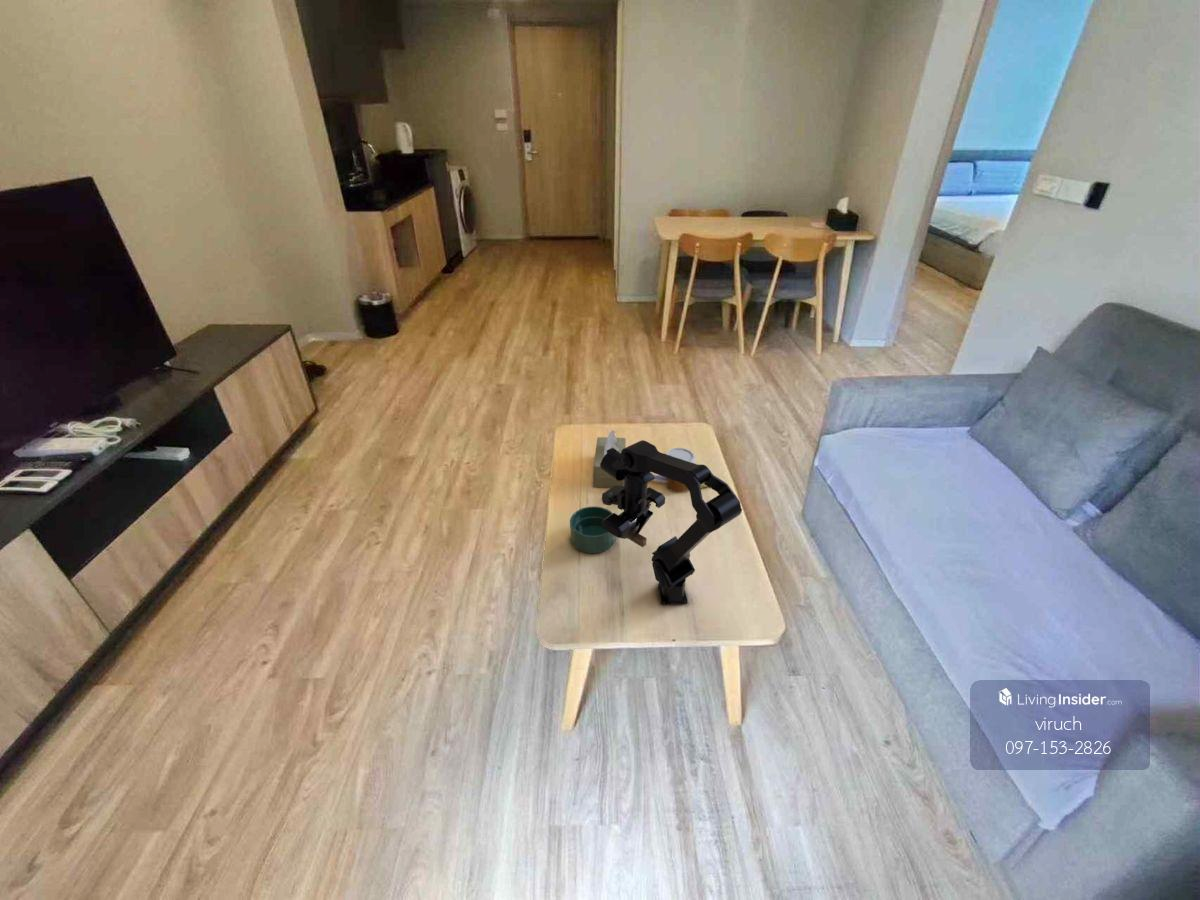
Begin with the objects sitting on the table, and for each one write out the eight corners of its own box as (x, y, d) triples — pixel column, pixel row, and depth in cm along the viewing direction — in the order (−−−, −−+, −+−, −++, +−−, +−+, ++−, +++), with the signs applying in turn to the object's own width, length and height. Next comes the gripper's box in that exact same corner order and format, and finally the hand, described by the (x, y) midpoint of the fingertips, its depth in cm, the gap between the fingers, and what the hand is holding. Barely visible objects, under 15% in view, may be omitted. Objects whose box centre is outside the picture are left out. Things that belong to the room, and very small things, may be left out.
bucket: (618, 553, 147) (618, 535, 144) (570, 555, 147) (570, 537, 143) (614, 522, 158) (614, 505, 155) (570, 524, 158) (569, 507, 154)
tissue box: (623, 488, 172) (624, 447, 164) (593, 487, 173) (592, 446, 165) (625, 456, 188) (626, 417, 180) (597, 455, 189) (597, 416, 180)
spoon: (648, 542, 139) (649, 535, 138) (639, 549, 137) (640, 543, 136) (623, 527, 144) (623, 520, 143) (613, 534, 142) (613, 527, 141)
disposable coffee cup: (698, 490, 171) (701, 459, 165) (671, 497, 168) (674, 466, 162) (683, 475, 178) (686, 444, 172) (657, 481, 176) (659, 450, 169)
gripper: (633, 460, 141) (632, 506, 150) (585, 492, 130) (586, 540, 138) (668, 476, 135) (664, 524, 144) (620, 512, 124) (619, 561, 132)
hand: (633, 536), depth 140 cm, fingers closed on spoon, 1 cm apart
